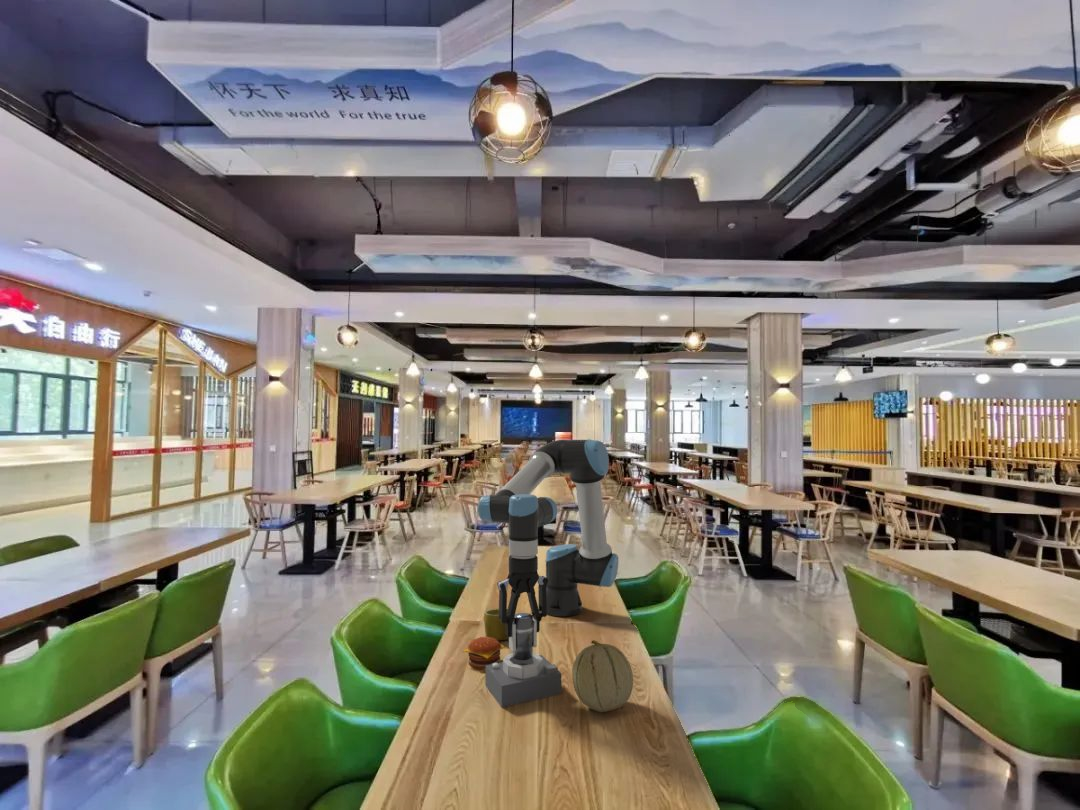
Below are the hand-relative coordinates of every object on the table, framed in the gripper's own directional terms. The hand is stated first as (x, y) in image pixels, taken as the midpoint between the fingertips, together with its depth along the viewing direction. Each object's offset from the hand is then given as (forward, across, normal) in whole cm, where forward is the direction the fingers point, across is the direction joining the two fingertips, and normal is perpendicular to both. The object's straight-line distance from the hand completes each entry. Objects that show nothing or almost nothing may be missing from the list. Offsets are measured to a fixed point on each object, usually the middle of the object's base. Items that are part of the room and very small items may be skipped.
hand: (522, 646), depth 135 cm
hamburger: (+11, +4, -19) cm, 22 cm away
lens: (+2, 0, 0) cm, 2 cm away
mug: (+11, -7, -36) cm, 38 cm away
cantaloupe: (+11, -14, +16) cm, 24 cm away
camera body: (+11, 0, 0) cm, 11 cm away
